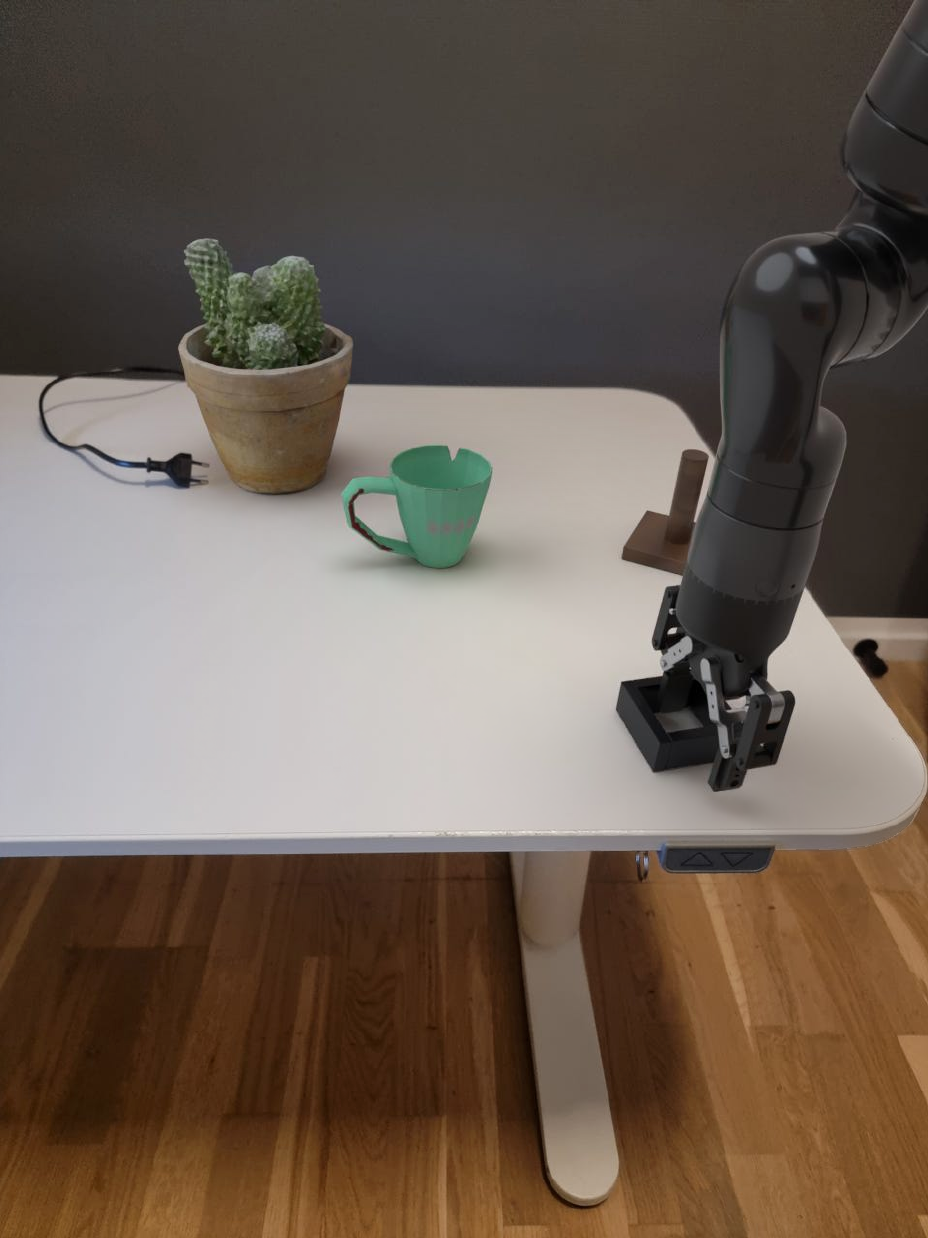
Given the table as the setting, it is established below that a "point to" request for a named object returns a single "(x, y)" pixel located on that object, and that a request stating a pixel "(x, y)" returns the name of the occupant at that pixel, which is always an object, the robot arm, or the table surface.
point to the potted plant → (265, 369)
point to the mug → (428, 502)
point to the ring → (651, 736)
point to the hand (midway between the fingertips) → (694, 746)
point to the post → (670, 521)
